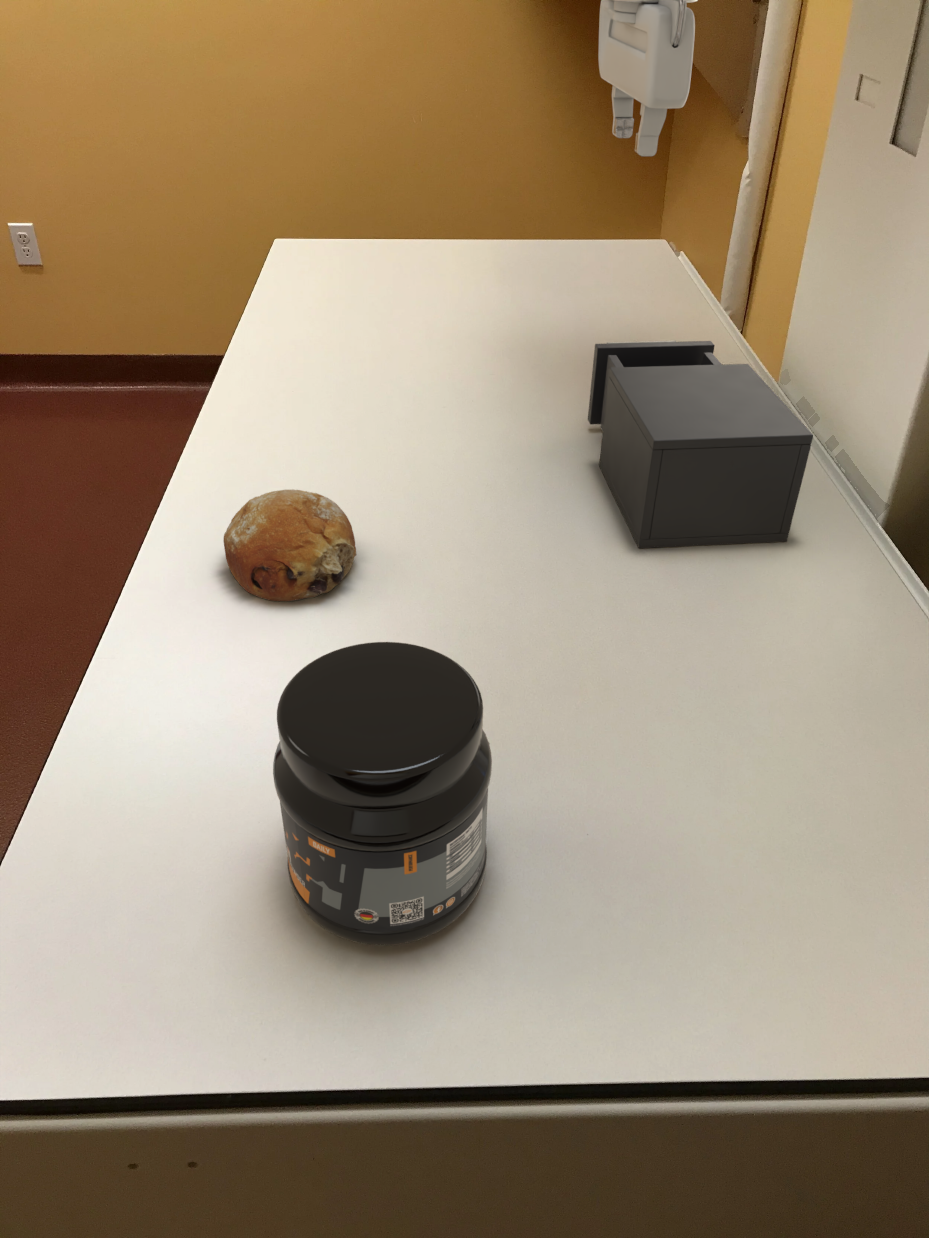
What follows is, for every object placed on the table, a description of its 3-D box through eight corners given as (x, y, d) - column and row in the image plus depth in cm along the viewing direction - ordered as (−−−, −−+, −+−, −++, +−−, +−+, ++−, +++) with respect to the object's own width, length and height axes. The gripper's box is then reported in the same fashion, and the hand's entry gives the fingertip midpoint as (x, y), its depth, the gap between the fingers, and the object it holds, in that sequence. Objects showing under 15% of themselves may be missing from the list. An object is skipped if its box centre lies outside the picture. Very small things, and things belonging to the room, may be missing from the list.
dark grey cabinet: (598, 465, 90) (609, 367, 84) (728, 460, 91) (748, 363, 85) (638, 548, 78) (653, 440, 72) (787, 541, 79) (814, 435, 74)
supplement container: (301, 798, 55) (281, 632, 48) (483, 797, 56) (489, 632, 49) (276, 957, 47) (246, 785, 40) (490, 956, 47) (499, 784, 40)
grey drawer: (578, 402, 99) (585, 328, 94) (685, 399, 100) (697, 325, 96) (619, 484, 85) (629, 401, 80) (743, 479, 86) (761, 397, 81)
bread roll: (349, 574, 81) (335, 479, 79) (374, 591, 71) (358, 483, 69) (230, 594, 78) (213, 496, 76) (239, 614, 68) (219, 502, 67)
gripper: (723, -15, 78) (695, 168, 87) (655, -28, 95) (638, 127, 103) (647, -16, 78) (627, 168, 86) (593, -29, 94) (580, 127, 102)
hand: (632, 145), depth 95 cm, fingers open, 8 cm apart
